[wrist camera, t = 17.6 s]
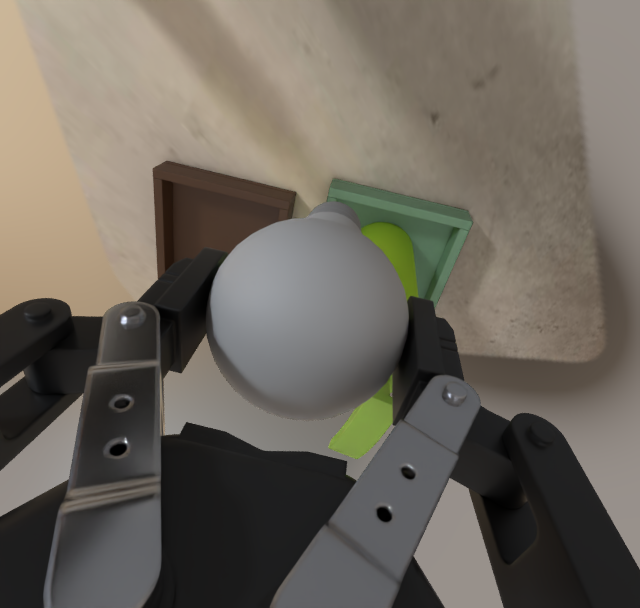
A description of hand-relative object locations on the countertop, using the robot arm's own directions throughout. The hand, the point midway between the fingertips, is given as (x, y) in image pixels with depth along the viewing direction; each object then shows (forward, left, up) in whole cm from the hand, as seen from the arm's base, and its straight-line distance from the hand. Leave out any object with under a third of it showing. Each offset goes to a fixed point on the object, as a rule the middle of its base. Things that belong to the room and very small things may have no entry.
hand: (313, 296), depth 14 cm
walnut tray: (+11, -10, -24) cm, 28 cm away
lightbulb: (0, 0, -7) cm, 7 cm away
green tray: (+9, +5, -24) cm, 26 cm away
